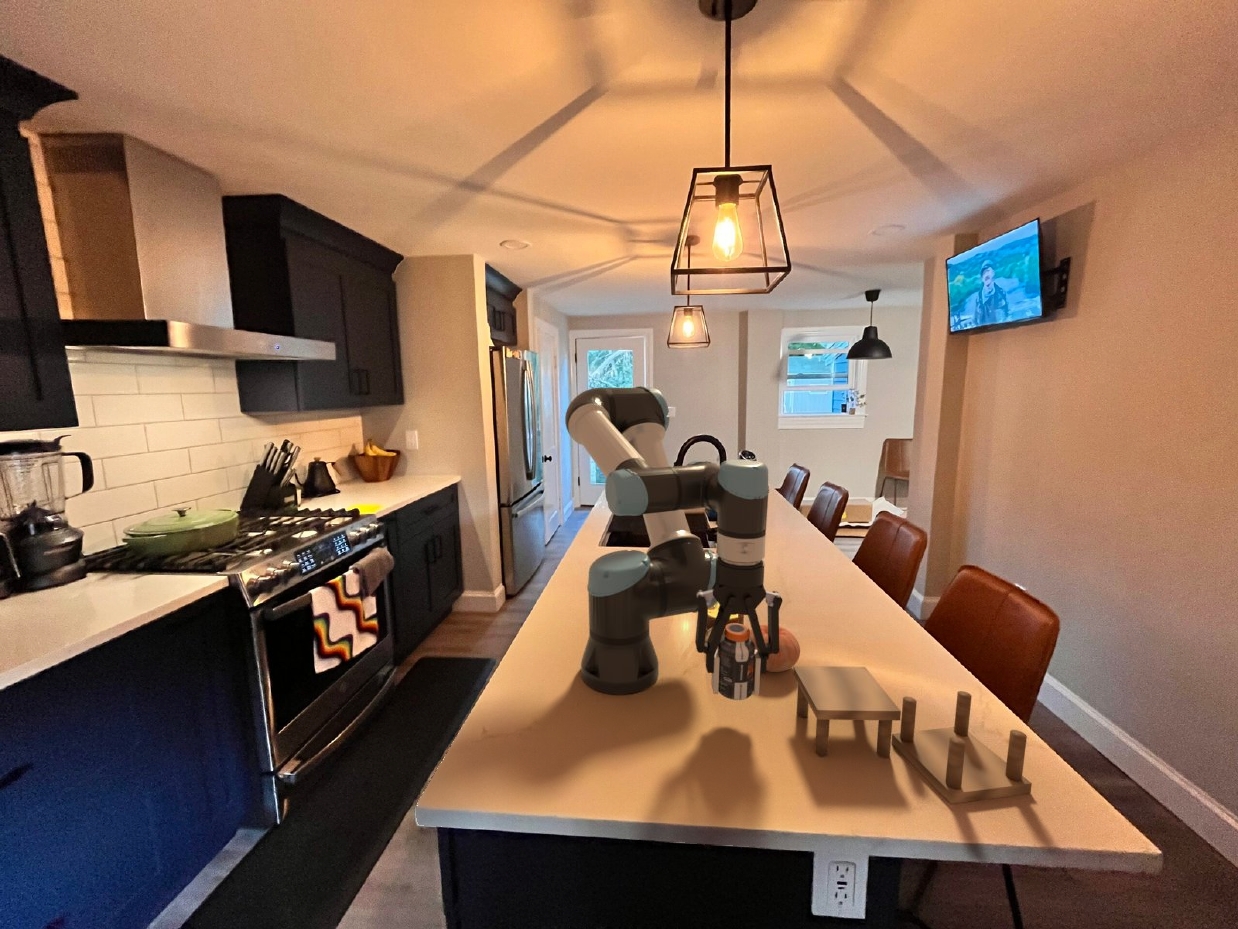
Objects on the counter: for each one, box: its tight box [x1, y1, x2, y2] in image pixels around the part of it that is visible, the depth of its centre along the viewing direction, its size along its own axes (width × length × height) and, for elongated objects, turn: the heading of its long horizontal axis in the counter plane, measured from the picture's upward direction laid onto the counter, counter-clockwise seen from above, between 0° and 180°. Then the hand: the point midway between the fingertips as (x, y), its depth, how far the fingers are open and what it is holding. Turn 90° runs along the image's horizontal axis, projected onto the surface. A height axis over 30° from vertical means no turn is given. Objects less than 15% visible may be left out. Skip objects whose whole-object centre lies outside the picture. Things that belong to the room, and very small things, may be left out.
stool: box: [792, 665, 902, 759], centre depth 82 cm, size 12×12×8 cm
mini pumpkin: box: [749, 624, 801, 673], centre depth 102 cm, size 11×11×8 cm
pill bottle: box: [717, 622, 755, 701], centre depth 85 cm, size 6×6×11 cm
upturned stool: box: [891, 690, 1033, 805], centre depth 74 cm, size 12×12×8 cm
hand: (734, 689), depth 86 cm, fingers closed on pill bottle, 6 cm apart
